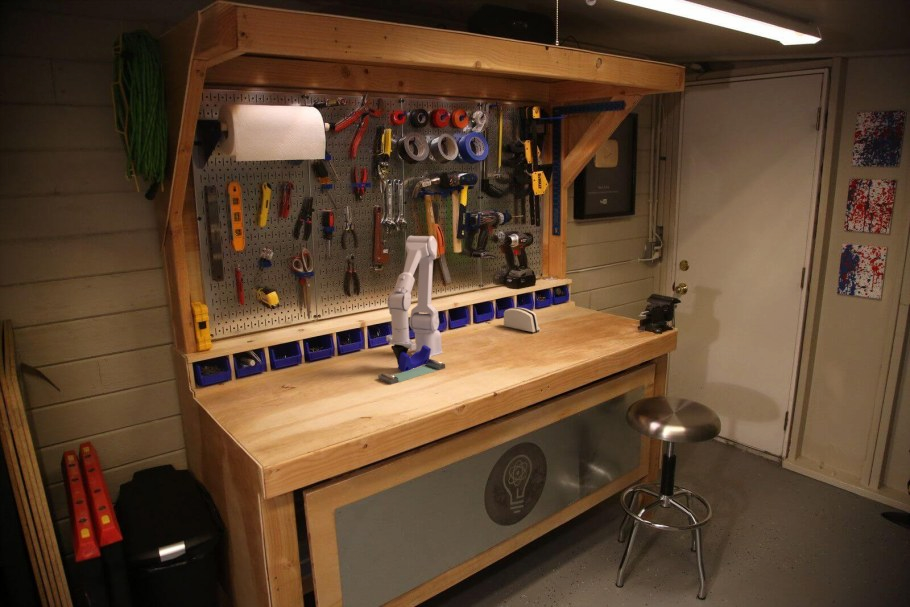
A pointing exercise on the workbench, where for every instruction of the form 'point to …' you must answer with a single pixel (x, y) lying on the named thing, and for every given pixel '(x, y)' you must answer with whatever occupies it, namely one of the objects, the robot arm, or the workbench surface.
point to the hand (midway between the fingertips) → (401, 365)
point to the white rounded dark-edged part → (521, 319)
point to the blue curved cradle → (414, 359)
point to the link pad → (413, 373)
